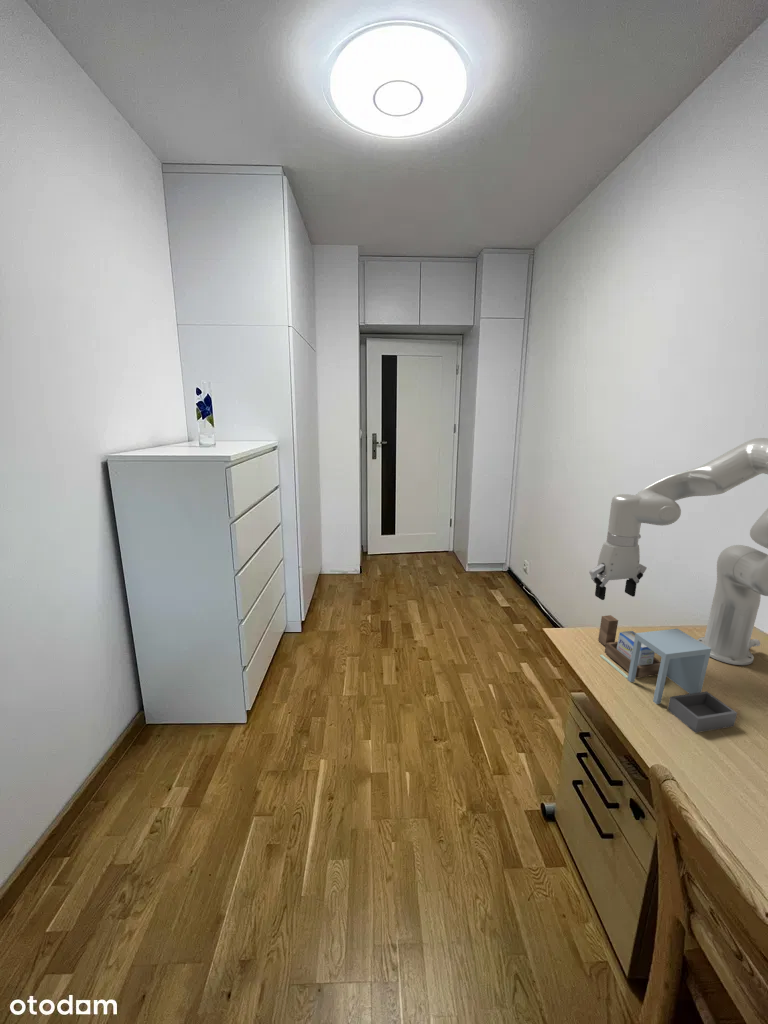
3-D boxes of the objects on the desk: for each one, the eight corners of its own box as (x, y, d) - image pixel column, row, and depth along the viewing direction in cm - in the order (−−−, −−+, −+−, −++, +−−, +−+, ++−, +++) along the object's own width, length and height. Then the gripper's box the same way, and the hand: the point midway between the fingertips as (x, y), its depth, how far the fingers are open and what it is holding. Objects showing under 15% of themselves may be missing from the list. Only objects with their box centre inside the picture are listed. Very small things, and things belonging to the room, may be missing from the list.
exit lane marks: (636, 651, 116) (636, 650, 116) (666, 673, 107) (666, 672, 106) (599, 655, 114) (599, 654, 114) (626, 678, 104) (626, 677, 104)
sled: (614, 638, 122) (618, 614, 120) (662, 674, 105) (667, 647, 103) (590, 641, 120) (594, 616, 118) (635, 677, 104) (640, 650, 102)
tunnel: (668, 674, 106) (677, 628, 103) (699, 697, 98) (711, 648, 94) (627, 679, 104) (635, 633, 101) (656, 704, 95) (666, 654, 92)
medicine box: (614, 659, 112) (618, 631, 110) (627, 657, 113) (632, 629, 111) (636, 677, 105) (641, 648, 103) (651, 675, 106) (656, 646, 104)
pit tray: (703, 704, 95) (706, 691, 95) (733, 726, 89) (737, 712, 88) (667, 709, 94) (670, 696, 93) (695, 732, 87) (698, 719, 86)
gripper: (639, 533, 117) (631, 587, 121) (585, 537, 114) (579, 593, 118) (660, 541, 110) (651, 599, 114) (604, 546, 107) (596, 605, 111)
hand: (614, 596), depth 116 cm, fingers open, 9 cm apart
